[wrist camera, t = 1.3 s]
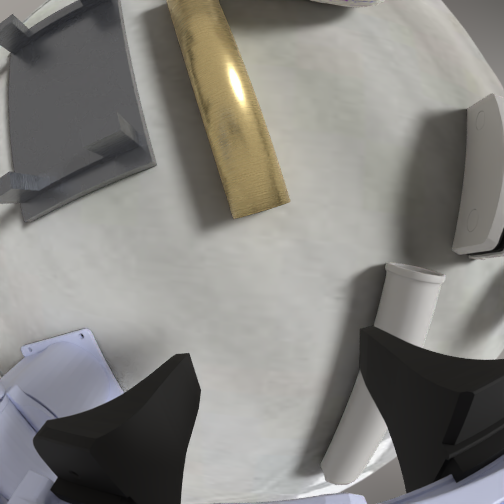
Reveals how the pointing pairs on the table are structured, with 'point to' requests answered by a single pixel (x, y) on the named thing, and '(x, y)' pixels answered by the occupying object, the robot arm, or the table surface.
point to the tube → (360, 402)
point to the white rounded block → (483, 183)
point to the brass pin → (228, 108)
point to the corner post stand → (71, 107)
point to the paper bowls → (351, 2)
